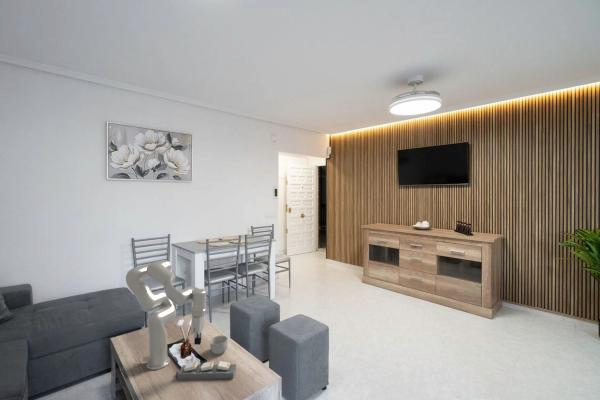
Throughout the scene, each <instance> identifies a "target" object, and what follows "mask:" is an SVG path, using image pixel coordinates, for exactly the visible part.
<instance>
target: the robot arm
mask: <svg viewBox="0 0 600 400" xmlns="http://www.w3.org/2000/svg"><path fill="white" fill-rule="evenodd" d="M171 270H172V264H171V262H170V261H169V260H167V259H161V260H158V261H153V262H149V263H146V264H143V265H139V266H135V267H134V268H131V269H130V270H128V272H127V273H126V275H125V282H126V285H127V287H128V288H129V290H130V291H131V292H132V293H133V295H134V296H135V298H136V301H137V302H138V303H139V306H140V307H141V309H142V310H143V312H146V313H148V312H151V311H153V310H155V309H156V310H155V311H153V312H151V313H150V314H149V315H148V316H147V319H146V325H147V329H148V349H149V350H148V351H149V352H148V353H149V354H148V355H144V356H143V357H142V362H146V363H145V364H146V368H147V370H151V371H152V370H153V371H155V370H160V369H162V368H165V367H167V366H168V365H169V364H170V362H171V357H169V356H168V331H167V329H166V328H165V325H166V324H168V323H169V322H171V321H173V320H174V319H175V318H176V316H177V308H176V307H175V305H178V306H182V305H185V304H187V303H189V302H191V317H192V318H191V324H190V335H191V336H192V335H193V339H194V340H193V341H194V343H193V344H194V345H199V346H200V345H201V343H202V332H203V329H204V328H205V321H206V320H205V318H206V317H205V316H206V314H207V293H208V292H207V290H206V289H205V288H198V287H196V286H194V285H189V286H187V287H185V288H183V289H180V290H178V289H177V288H176V287H174V286H173V284H174V282H175V280H176V278H177V277H176V274H175V273H173V272H172V271H171ZM150 278H152V279H153V280H154V281H156V282H157V283H158V284H160V285H161V286H162V287H163V290H161V289H160V290H159V289H158V290H155V291H152V289H151V287H150V286H149V285H148V284H147V283H146V282H144V280H147V279H150ZM173 303H174V304H175V305H174V304H173Z"/></svg>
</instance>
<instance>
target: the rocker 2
mask: <svg viewBox="0 0 600 400" xmlns="http://www.w3.org/2000/svg"><path fill="white" fill-rule="evenodd" d="M214 361H215V360H213V361H208V362H204V363H202V364H201V365H202V367H201V371H204V370H209V369H212V368H213V365H215V363H214Z"/></svg>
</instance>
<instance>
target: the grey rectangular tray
mask: <svg viewBox="0 0 600 400" xmlns="http://www.w3.org/2000/svg"><path fill="white" fill-rule="evenodd" d="M186 365H187V364H185V365H182V367H181V368H180V370H179V371H177V372H176V376H177V381H179V380H180V381H181V380H184V381H185V380H227V379H228V380H231V379H232V380H233V379H234V378H235V375H236V371H237V364H236V363H235V364H233V363H232V364H231V363H230V367H229V370H222V369H217V368H218V365H219V364H214V365H213V368H212V369H209V370H204V371H201V367H202V365H203V364H198V365H197V367H196V369H193V370H189V371H186V372H185V371H184V368H185V366H186Z"/></svg>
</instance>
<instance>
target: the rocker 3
mask: <svg viewBox="0 0 600 400" xmlns="http://www.w3.org/2000/svg"><path fill="white" fill-rule="evenodd" d="M230 364H231V362H228V361H221V360H220V361H219V363H218V364H217V365H218V368H217V369H222V370H229V367H230Z"/></svg>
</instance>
